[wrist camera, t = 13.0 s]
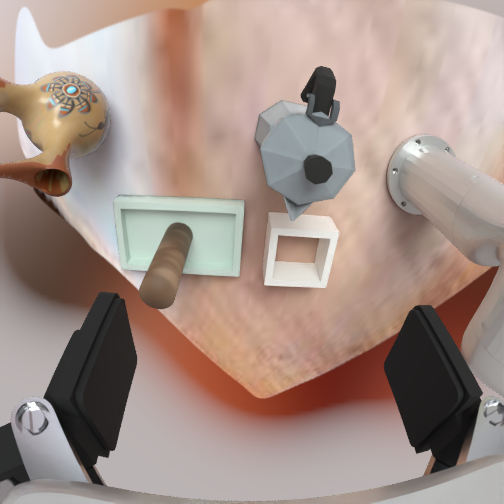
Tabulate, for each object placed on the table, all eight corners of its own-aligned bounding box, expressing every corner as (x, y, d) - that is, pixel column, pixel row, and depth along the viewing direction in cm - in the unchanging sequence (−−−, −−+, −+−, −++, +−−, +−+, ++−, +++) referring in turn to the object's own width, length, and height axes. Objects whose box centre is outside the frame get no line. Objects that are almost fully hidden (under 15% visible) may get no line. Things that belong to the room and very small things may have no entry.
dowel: (192, 222, 45) (173, 280, 32) (193, 248, 47) (175, 310, 34) (165, 221, 44) (137, 278, 32) (166, 246, 46) (141, 307, 34)
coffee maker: (308, 183, 43) (346, 250, 27) (245, 172, 42) (246, 234, 26) (335, 79, 36) (397, 83, 20) (267, 62, 34) (286, 49, 19)
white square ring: (330, 216, 45) (339, 232, 41) (319, 268, 50) (325, 287, 46) (268, 211, 45) (271, 227, 41) (262, 265, 49) (264, 285, 45)
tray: (244, 200, 44) (244, 207, 42) (239, 267, 50) (239, 276, 47) (119, 195, 43) (113, 201, 41) (126, 260, 48) (121, 269, 46)
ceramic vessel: (148, 128, 38) (45, 198, 17) (103, 169, 41) (-4, 267, 19) (79, 45, 31) (-59, 46, 10) (39, 91, 34) (-95, 133, 12)
